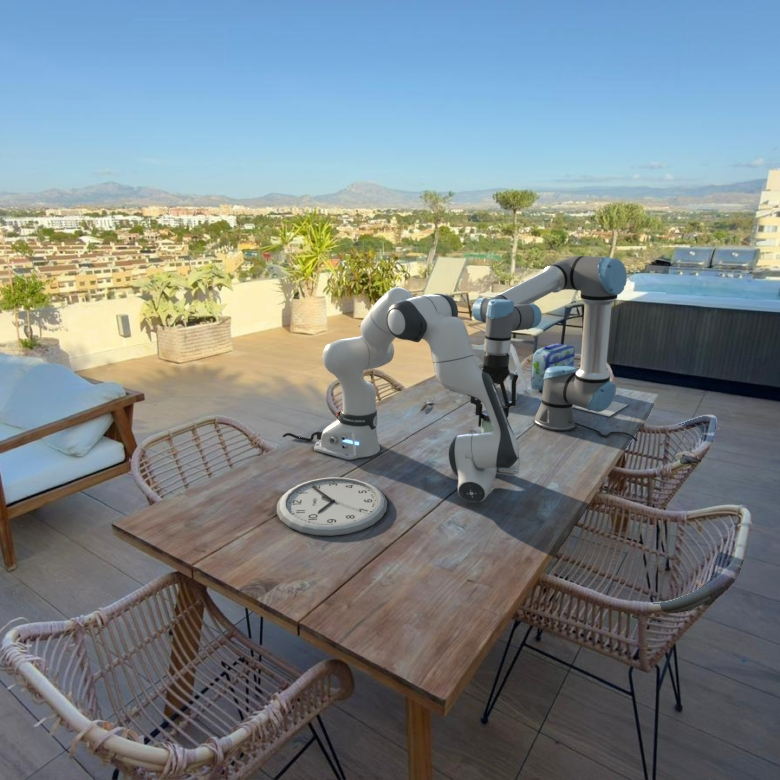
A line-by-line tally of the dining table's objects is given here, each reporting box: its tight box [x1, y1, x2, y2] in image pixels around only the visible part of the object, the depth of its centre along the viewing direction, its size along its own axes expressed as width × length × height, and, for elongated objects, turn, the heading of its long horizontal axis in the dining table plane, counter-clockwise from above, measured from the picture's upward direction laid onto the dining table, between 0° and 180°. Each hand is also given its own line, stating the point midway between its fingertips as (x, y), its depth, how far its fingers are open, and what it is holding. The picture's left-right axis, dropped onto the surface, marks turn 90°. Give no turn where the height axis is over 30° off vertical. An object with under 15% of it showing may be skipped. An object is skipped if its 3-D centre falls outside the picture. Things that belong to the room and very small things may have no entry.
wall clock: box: [276, 476, 388, 537], centre depth 142 cm, size 30×2×30 cm
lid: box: [481, 409, 491, 422], centre depth 160 cm, size 6×6×2 cm
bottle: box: [481, 419, 494, 433], centre depth 163 cm, size 5×5×18 cm
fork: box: [420, 396, 435, 411], centre depth 223 cm, size 3×16×2 cm, turn 160°
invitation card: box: [573, 400, 629, 418], centre depth 226 cm, size 21×1×15 cm
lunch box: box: [530, 343, 576, 391], centre depth 249 cm, size 26×11×21 cm, turn 134°
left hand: (489, 450), depth 164 cm, fingers closed on bottle, 5 cm apart
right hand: (490, 425), depth 161 cm, fingers closed on lid, 6 cm apart
